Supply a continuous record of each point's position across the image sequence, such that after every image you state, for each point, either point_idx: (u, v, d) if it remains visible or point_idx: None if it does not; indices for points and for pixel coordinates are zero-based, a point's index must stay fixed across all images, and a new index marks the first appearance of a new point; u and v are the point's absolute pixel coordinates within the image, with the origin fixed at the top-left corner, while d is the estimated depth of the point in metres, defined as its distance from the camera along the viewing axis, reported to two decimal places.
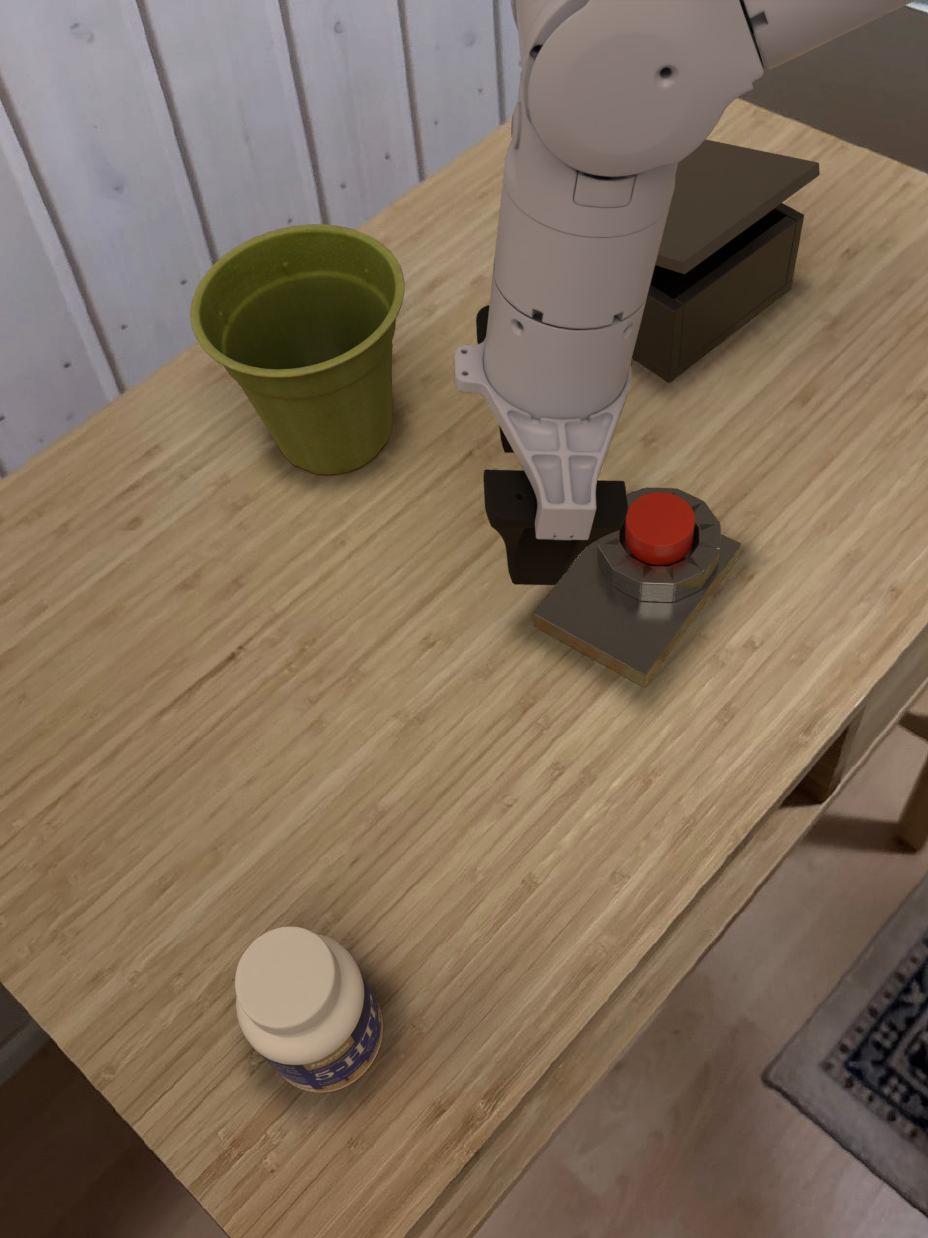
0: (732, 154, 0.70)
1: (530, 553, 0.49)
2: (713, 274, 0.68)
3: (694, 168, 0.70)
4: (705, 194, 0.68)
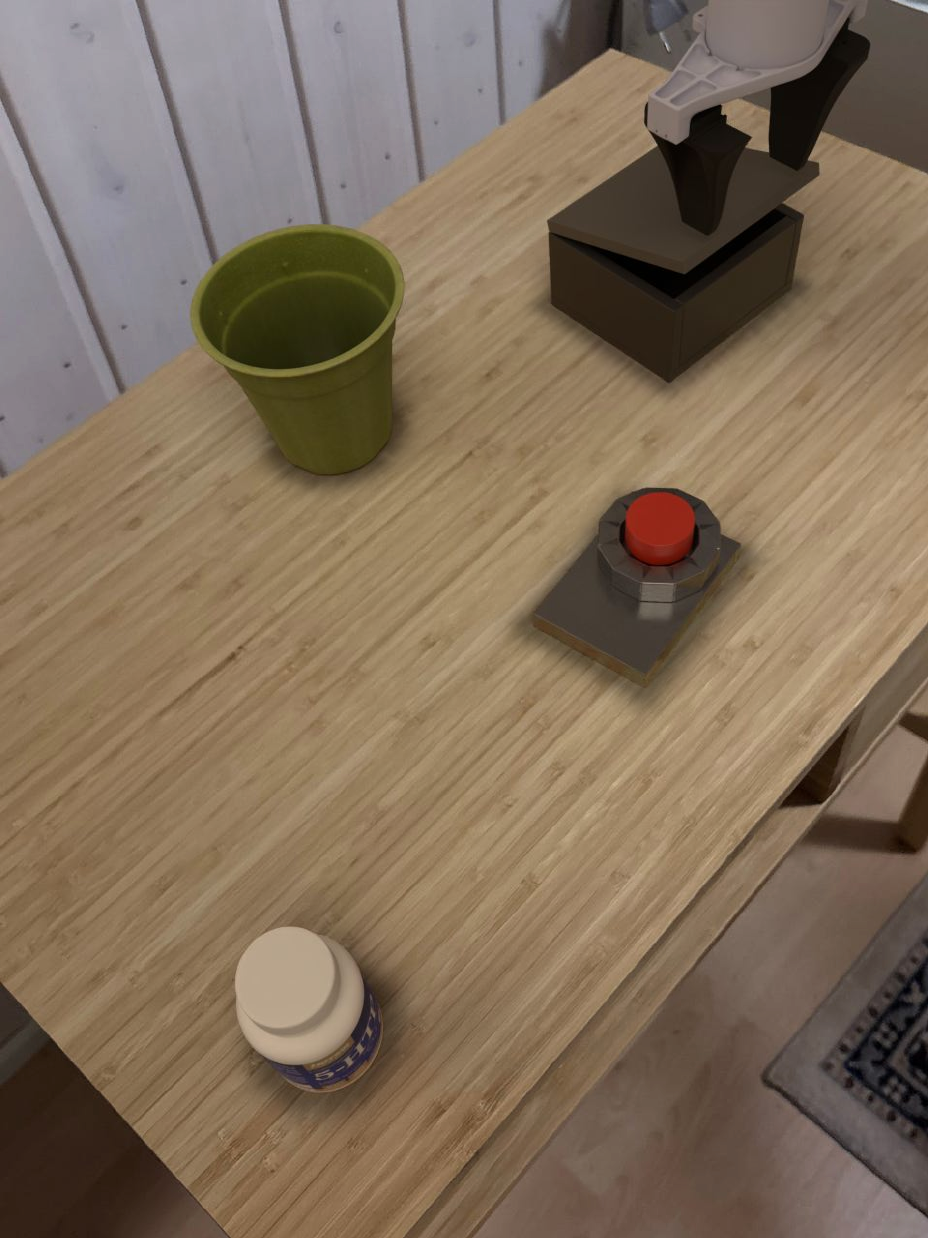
0: None
1: (688, 187, 0.62)
2: (713, 274, 0.68)
3: None
4: None
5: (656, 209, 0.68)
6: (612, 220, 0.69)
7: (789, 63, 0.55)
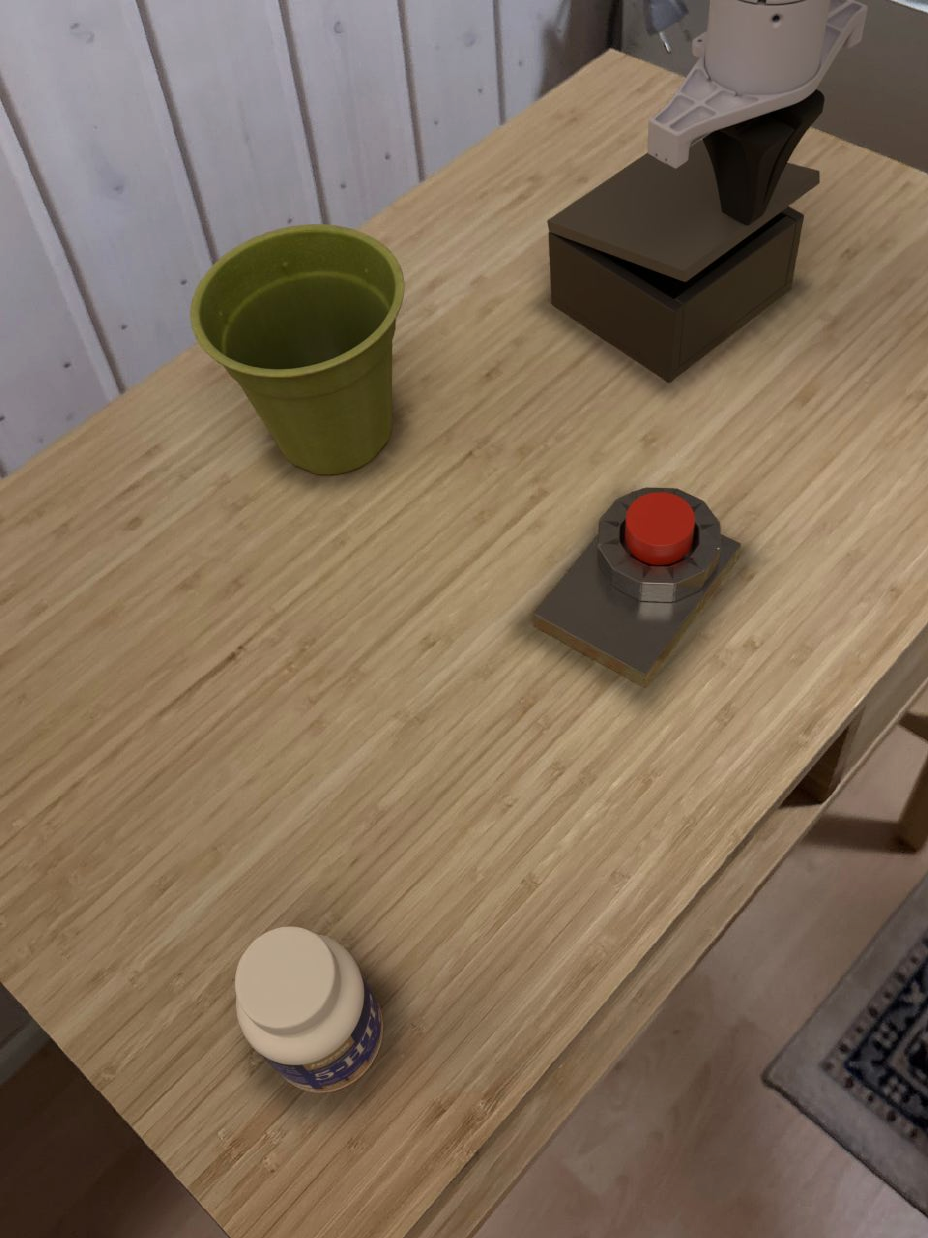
0: None
1: (730, 178, 0.64)
2: (713, 274, 0.68)
3: (695, 172, 0.70)
4: (706, 199, 0.68)
5: (657, 213, 0.68)
6: (613, 223, 0.69)
7: (786, 89, 0.56)
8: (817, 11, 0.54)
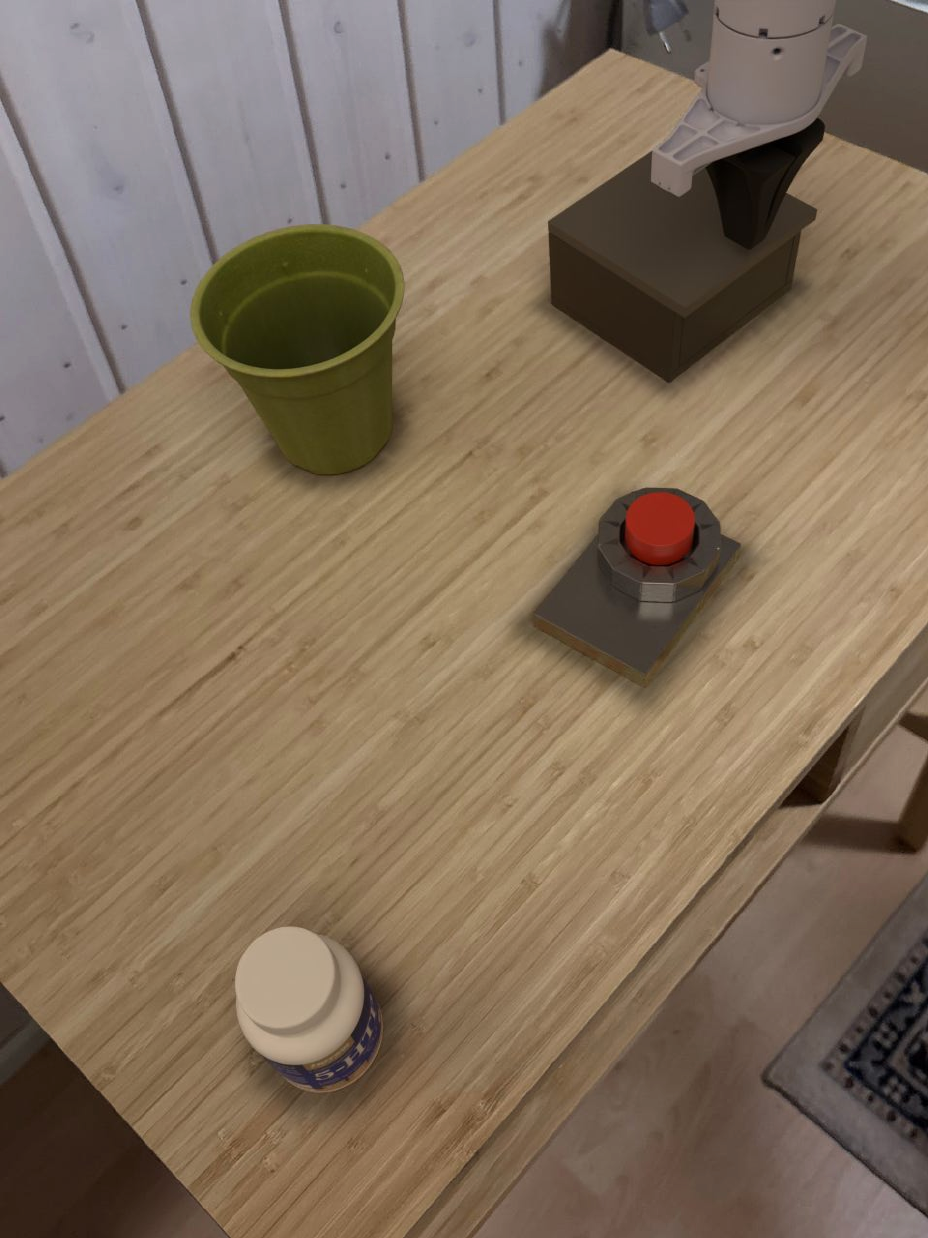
0: None
1: (732, 203, 0.65)
2: None
3: (696, 187, 0.71)
4: (707, 224, 0.69)
5: (659, 233, 0.69)
6: (615, 237, 0.69)
7: (787, 119, 0.58)
8: (817, 44, 0.55)
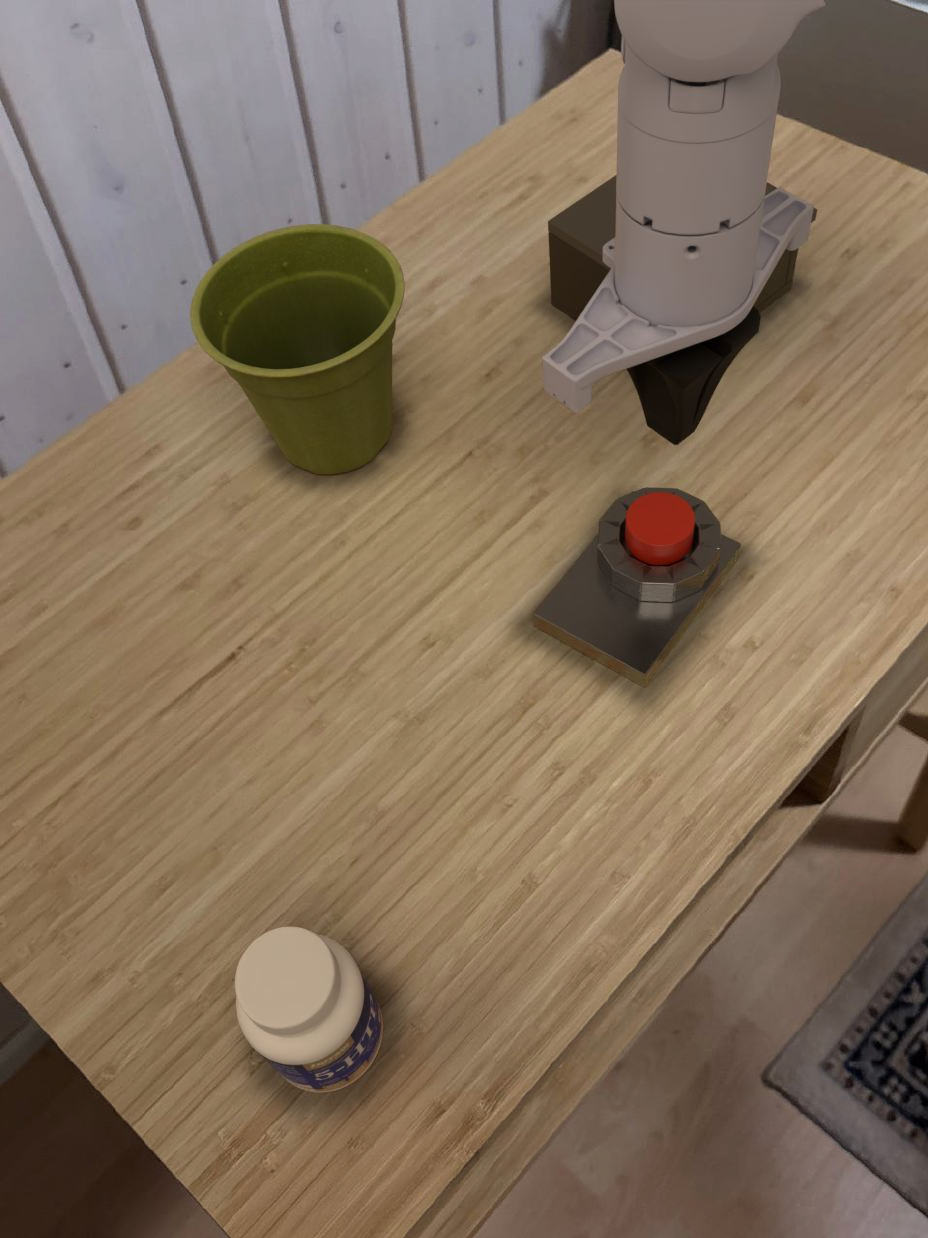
0: None
1: (653, 395, 0.54)
2: None
3: None
4: None
5: None
6: None
7: (710, 321, 0.46)
8: (743, 239, 0.44)
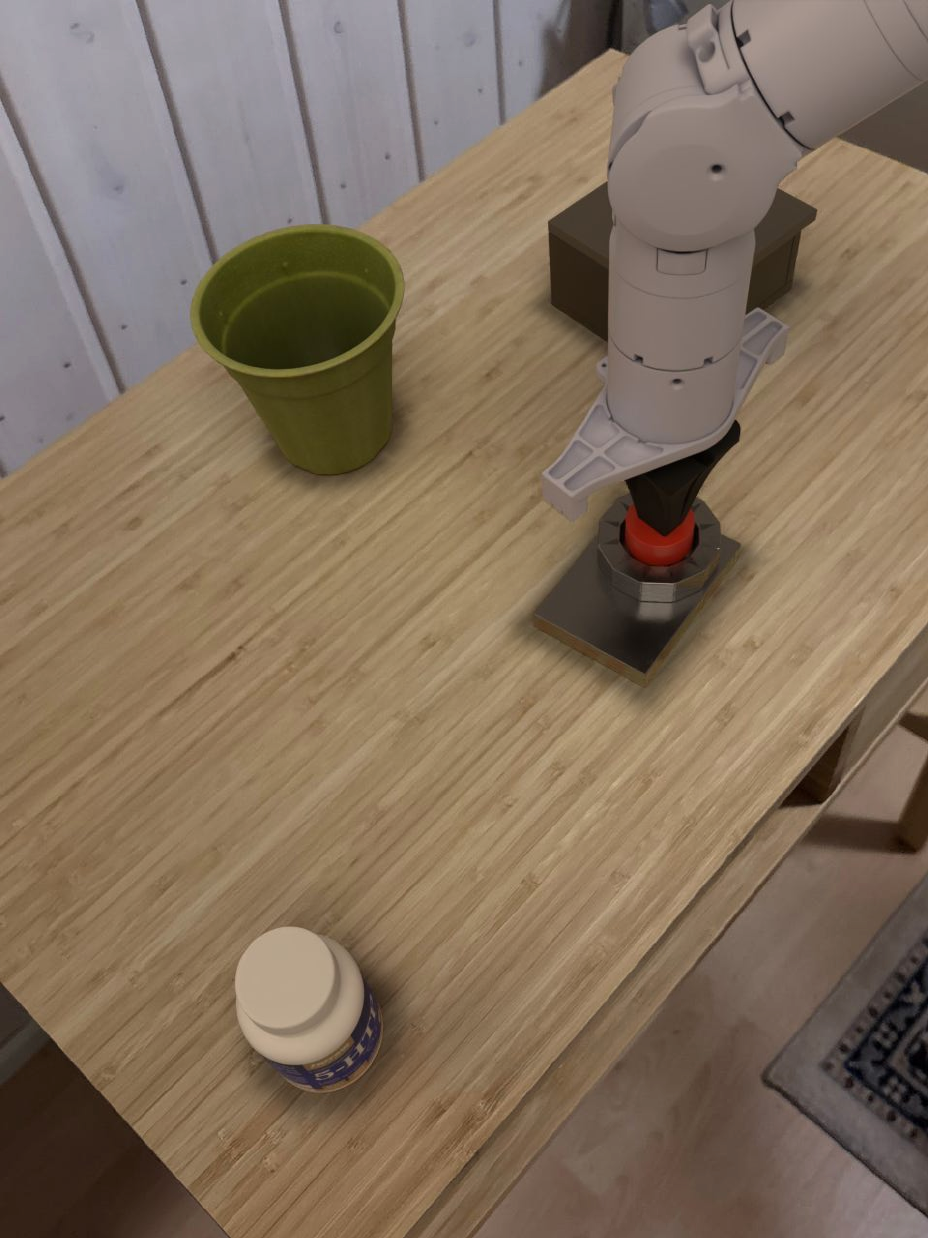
0: None
1: (643, 493, 0.58)
2: None
3: None
4: None
5: None
6: None
7: (694, 439, 0.51)
8: (723, 371, 0.48)
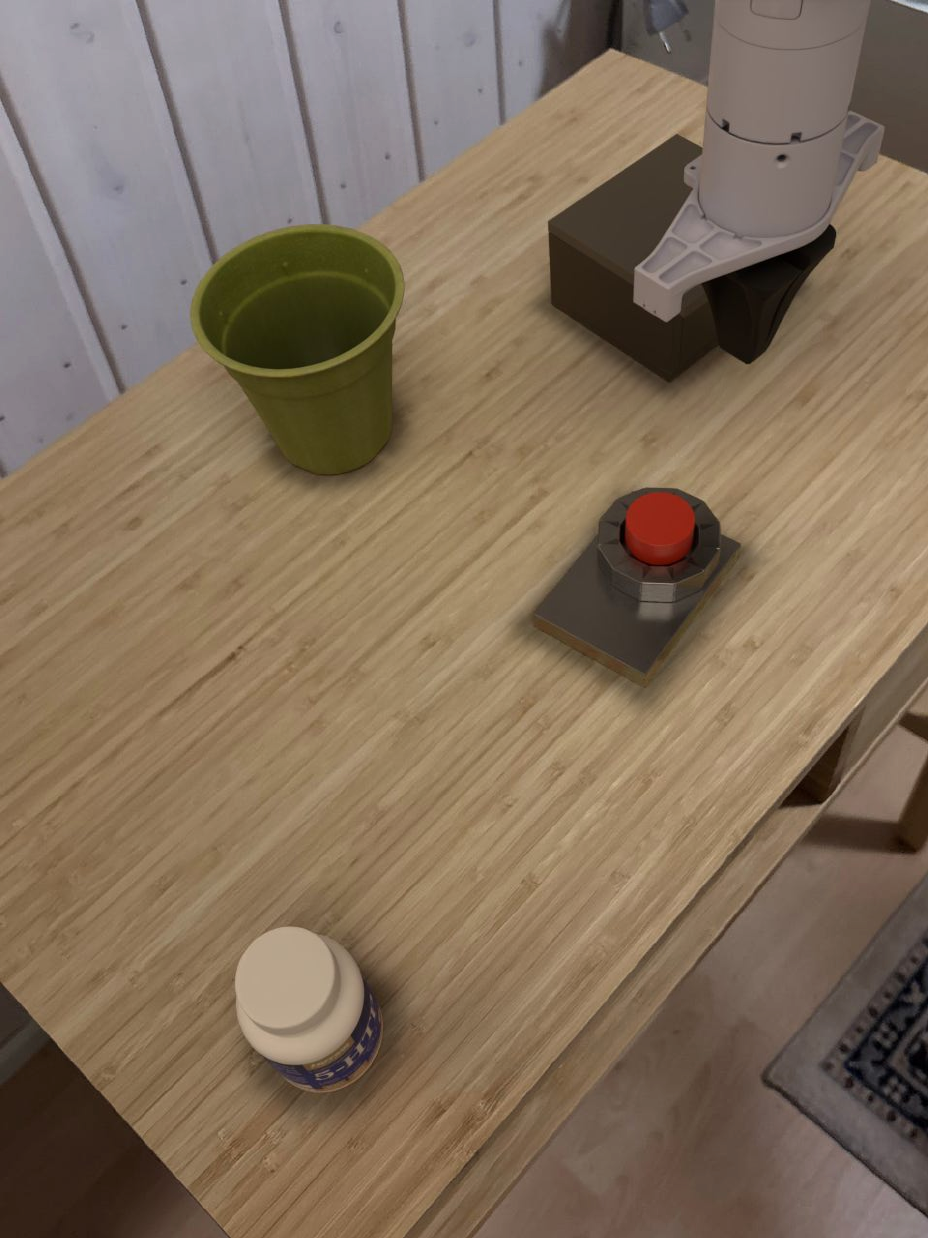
0: None
1: (728, 315, 0.56)
2: None
3: None
4: None
5: (659, 233, 0.69)
6: (615, 237, 0.69)
7: (794, 231, 0.49)
8: (829, 148, 0.46)
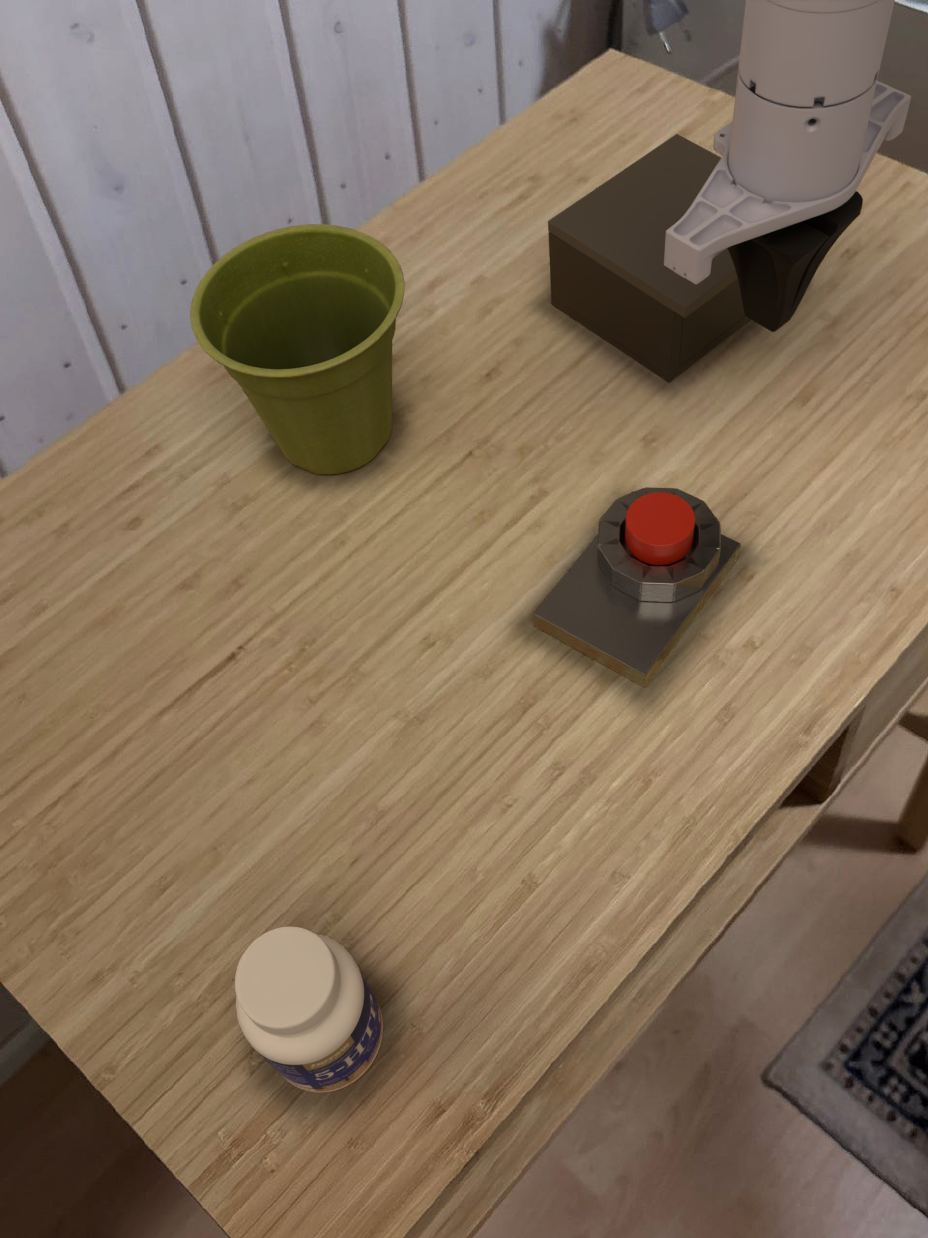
0: None
1: (754, 282, 0.57)
2: None
3: (696, 187, 0.71)
4: None
5: (659, 233, 0.69)
6: (615, 237, 0.69)
7: (822, 196, 0.50)
8: (859, 113, 0.47)
